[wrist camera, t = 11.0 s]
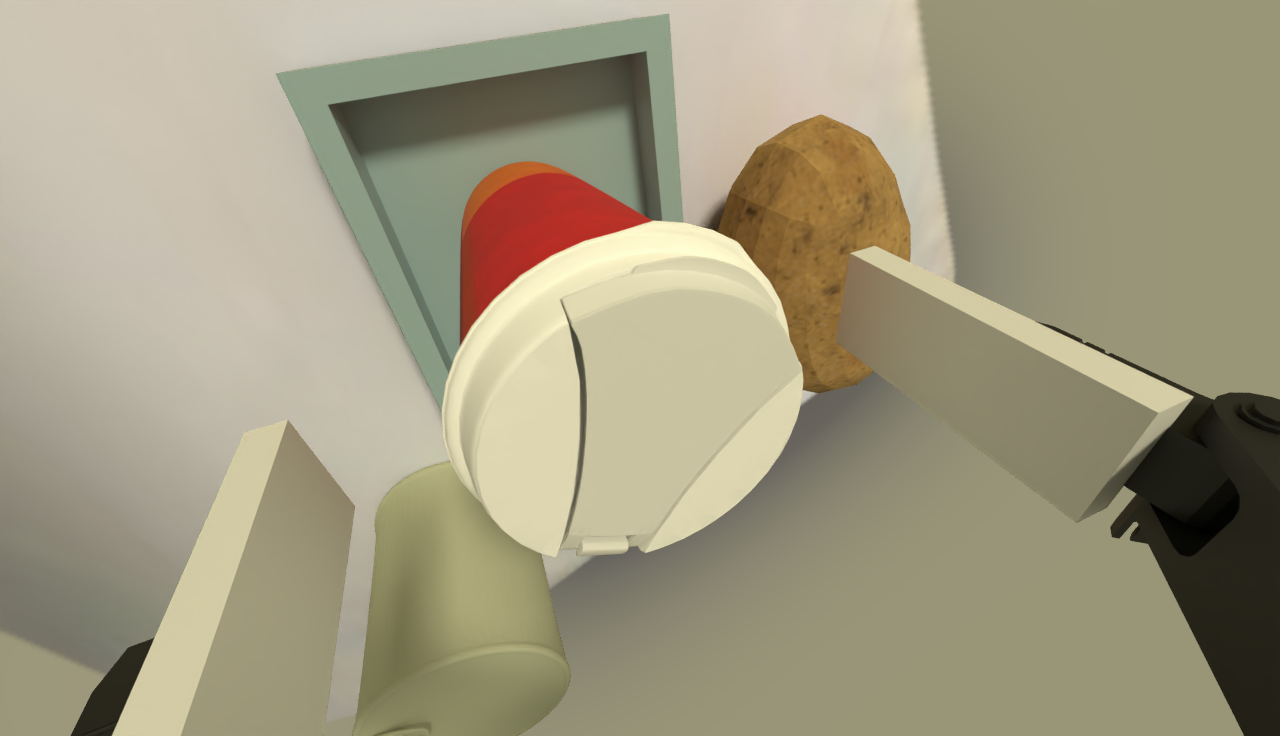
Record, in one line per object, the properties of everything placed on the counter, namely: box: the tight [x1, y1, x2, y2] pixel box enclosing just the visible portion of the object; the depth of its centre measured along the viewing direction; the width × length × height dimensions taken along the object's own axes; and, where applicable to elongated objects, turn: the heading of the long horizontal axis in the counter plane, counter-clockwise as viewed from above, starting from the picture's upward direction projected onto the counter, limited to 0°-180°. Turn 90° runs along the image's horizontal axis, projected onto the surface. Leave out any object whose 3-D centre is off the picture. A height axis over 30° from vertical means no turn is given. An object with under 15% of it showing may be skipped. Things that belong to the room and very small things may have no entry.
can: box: [352, 461, 570, 736], centre depth 26 cm, size 9×9×12 cm
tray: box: [276, 14, 683, 412], centre depth 21 cm, size 14×13×3 cm
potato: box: [718, 115, 910, 393], centre depth 24 cm, size 10×14×8 cm
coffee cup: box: [442, 161, 803, 558], centre depth 16 cm, size 8×8×15 cm
